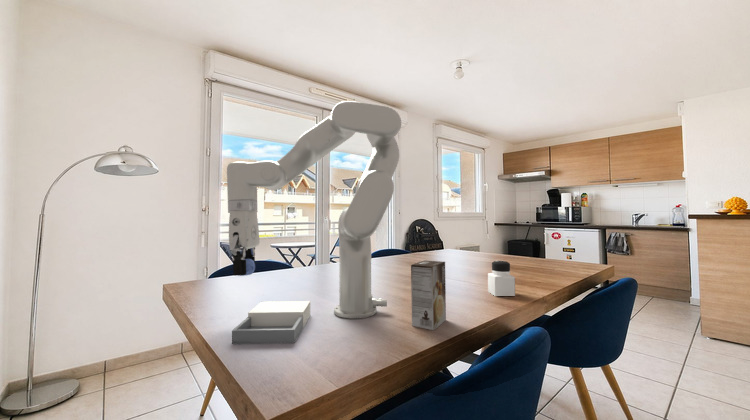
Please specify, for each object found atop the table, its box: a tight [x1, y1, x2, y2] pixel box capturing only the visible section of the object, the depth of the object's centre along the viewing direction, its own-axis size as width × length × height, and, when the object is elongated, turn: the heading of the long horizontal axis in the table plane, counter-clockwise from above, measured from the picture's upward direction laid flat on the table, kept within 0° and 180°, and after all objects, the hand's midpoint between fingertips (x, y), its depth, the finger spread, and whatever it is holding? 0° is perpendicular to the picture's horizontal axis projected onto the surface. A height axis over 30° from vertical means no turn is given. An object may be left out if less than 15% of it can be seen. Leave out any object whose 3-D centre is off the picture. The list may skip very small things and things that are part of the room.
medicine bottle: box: [487, 260, 516, 297], centre depth 110 cm, size 7×7×12 cm
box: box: [231, 316, 304, 345], centre depth 73 cm, size 14×9×3 cm, turn 92°
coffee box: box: [410, 259, 447, 331], centre depth 81 cm, size 9×6×16 cm
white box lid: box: [247, 300, 311, 328], centre depth 83 cm, size 14×10×4 cm
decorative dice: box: [237, 259, 256, 277], centre depth 84 cm, size 4×4×4 cm
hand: (244, 272), depth 84 cm, fingers closed on decorative dice, 5 cm apart
